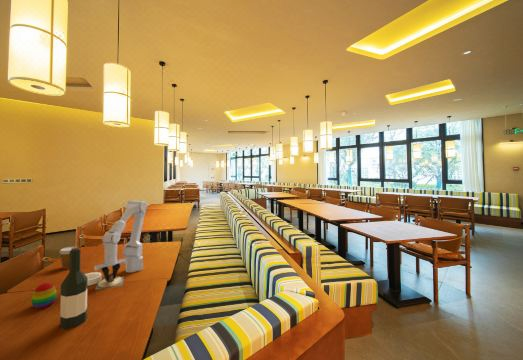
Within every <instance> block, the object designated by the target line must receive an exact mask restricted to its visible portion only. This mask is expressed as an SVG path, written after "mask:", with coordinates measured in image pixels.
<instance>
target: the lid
mask: <svg viewBox="0 0 523 360" xmlns="http://www.w3.org/2000/svg"><path fill="white" fill-rule="evenodd" d="M121 277H122V276H116V278H115V279H114V274H113V273H109V274H108V281H106V280H105V278H104V279H101V281H100V282H99V283H98V286H99V287H102V288H104V289H107V288H106V287H110V288H113V287H112V286H115V285H118V284H120V283H121V282H122V278H121ZM115 287H116V286H115Z"/></svg>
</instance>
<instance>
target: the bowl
mask: <svg viewBox="0 0 523 360" xmlns="http://www.w3.org/2000/svg"><path fill="white" fill-rule="evenodd" d="M84 274H85V275H86V277H87V278H88V282H87V287H89V286H93V285H97V283H98V282H100V281H101V280H103V279H102V275H103V272H102V273H101V272H99V271H98V272H97V271H95V272H89V273H84Z"/></svg>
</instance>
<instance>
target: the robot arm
mask: <svg viewBox="0 0 523 360" xmlns="http://www.w3.org/2000/svg"><path fill="white" fill-rule="evenodd" d="M147 207H148V204H147V202H146V201H145V200H132V199H131V200H128V202H127V203H126V204H125V211H123V213H122V214H121V217H120V219H119V220H116V221H115V222H114V224H113V225H112V226H111V228H110V229H109V231H108V232H106V233H105V234H103V236H102V238H101V242H102V243H103V247H104V258H103V259H104V261H103V263H100V264H97V265H94V266H93V270H94V271H95V272H97V271H98V270H101V271H102V274H103V275H104V279H105V280H106V281H108V274H110V269H109V268H110V267H112V274H114V279H115V278H116V277H117V274H118V271H119V270H120V268H121V264H125V273H134V272H139V271H143V269H144V263H143V262H144V261H143V259H144V256H143V250H144V249H143V243H142V242H140V241H141V240H140V239H141V233H142V229H143V225H144V219H145V215H146V212H147ZM132 215H133V216H134V218H133V219H134V220H133V222H132V223H133V224H132V228H131V233H130V237H129V241H128V242H126V243H125V245H124V248H123V250H122V256H123V257H124V258H120V259H118V243H119V242H120V240H121V236H122V232H123V231H124V230H125V228H126V226H127V224H126V223H127V221H128V220H129V219H130V218H131V216H132Z"/></svg>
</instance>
